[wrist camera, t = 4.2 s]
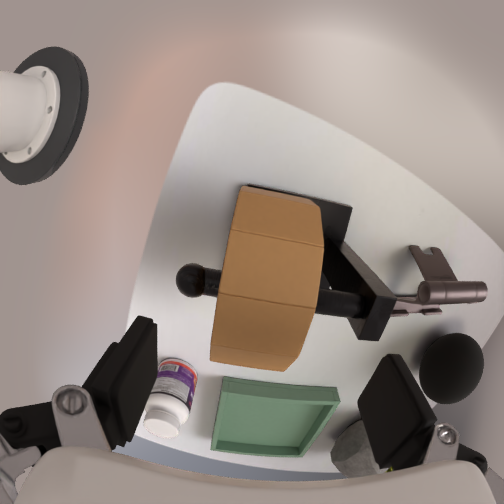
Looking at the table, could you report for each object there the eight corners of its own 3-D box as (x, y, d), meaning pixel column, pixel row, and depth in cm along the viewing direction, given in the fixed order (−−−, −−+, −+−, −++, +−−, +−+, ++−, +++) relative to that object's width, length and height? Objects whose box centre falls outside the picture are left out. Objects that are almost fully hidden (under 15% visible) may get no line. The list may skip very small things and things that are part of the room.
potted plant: (389, 406, 31) (437, 436, 29) (342, 408, 42) (390, 436, 40) (350, 479, 24) (408, 497, 23) (308, 463, 35) (363, 486, 34)
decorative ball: (451, 307, 29) (492, 348, 20) (466, 340, 31) (498, 378, 22) (398, 355, 32) (428, 406, 22) (421, 381, 34) (445, 425, 24)
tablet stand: (377, 308, 29) (407, 352, 21) (392, 243, 26) (435, 274, 18) (432, 306, 29) (467, 342, 21) (449, 248, 26) (493, 276, 19)
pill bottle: (187, 391, 34) (173, 446, 25) (153, 373, 33) (131, 426, 24) (205, 370, 32) (192, 430, 23) (168, 350, 31) (145, 408, 22)
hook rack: (201, 275, 28) (167, 354, 16) (216, 177, 25) (179, 195, 13) (323, 296, 28) (358, 378, 17) (350, 206, 25) (417, 245, 13)
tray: (212, 437, 38) (210, 450, 35) (223, 375, 33) (221, 391, 30) (300, 445, 39) (302, 457, 36) (336, 387, 33) (340, 401, 31)
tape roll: (222, 303, 25) (203, 394, 14) (244, 180, 21) (233, 201, 11) (271, 311, 25) (279, 404, 14) (300, 192, 21) (341, 224, 11)
